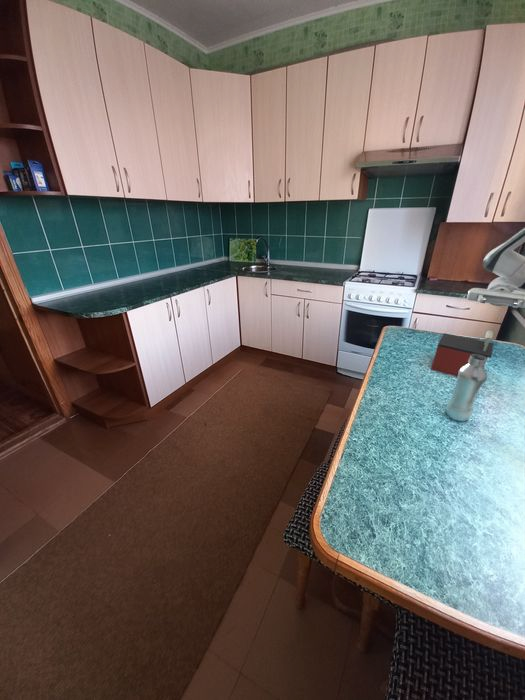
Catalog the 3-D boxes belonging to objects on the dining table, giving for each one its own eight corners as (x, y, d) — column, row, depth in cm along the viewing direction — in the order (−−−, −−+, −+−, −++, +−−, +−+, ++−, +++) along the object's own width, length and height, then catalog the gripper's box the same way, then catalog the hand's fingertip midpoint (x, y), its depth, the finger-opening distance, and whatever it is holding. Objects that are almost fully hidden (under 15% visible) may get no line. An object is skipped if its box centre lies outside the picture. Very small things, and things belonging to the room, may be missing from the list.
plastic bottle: (440, 416, 86) (460, 357, 77) (448, 406, 90) (468, 349, 80) (465, 427, 81) (489, 366, 72) (472, 416, 85) (496, 357, 76)
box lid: (492, 345, 104) (498, 329, 102) (490, 358, 96) (497, 341, 93) (443, 334, 113) (447, 320, 110) (437, 345, 105) (442, 330, 102)
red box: (480, 368, 109) (489, 344, 105) (478, 382, 101) (487, 357, 97) (436, 357, 117) (443, 334, 113) (430, 369, 109) (437, 346, 105)
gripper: (471, 282, 117) (467, 290, 108) (537, 290, 106) (539, 299, 97) (466, 297, 120) (462, 306, 111) (530, 306, 109) (531, 317, 100)
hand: (498, 303), depth 104 cm, fingers open, 8 cm apart
